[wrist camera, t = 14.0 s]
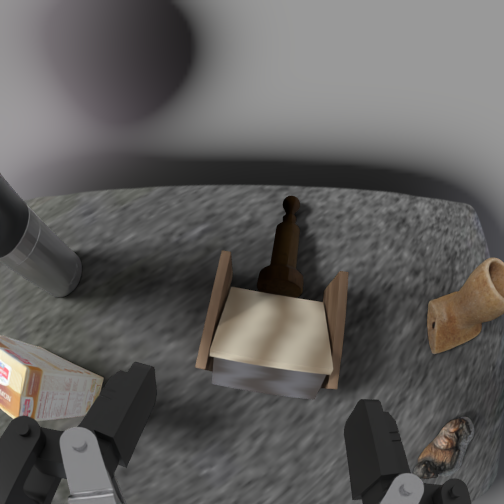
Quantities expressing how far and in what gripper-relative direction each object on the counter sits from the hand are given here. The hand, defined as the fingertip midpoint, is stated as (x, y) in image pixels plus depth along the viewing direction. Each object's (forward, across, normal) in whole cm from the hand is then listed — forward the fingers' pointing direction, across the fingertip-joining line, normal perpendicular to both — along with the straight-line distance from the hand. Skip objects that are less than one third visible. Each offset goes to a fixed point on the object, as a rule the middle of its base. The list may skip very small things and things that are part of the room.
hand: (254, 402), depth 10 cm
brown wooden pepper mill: (+30, -3, +10) cm, 32 cm away
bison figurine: (+15, -35, +30) cm, 48 cm away
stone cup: (+33, -36, +12) cm, 50 cm away
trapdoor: (+25, -3, +18) cm, 31 cm away
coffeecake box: (+17, +29, +29) cm, 44 cm away
